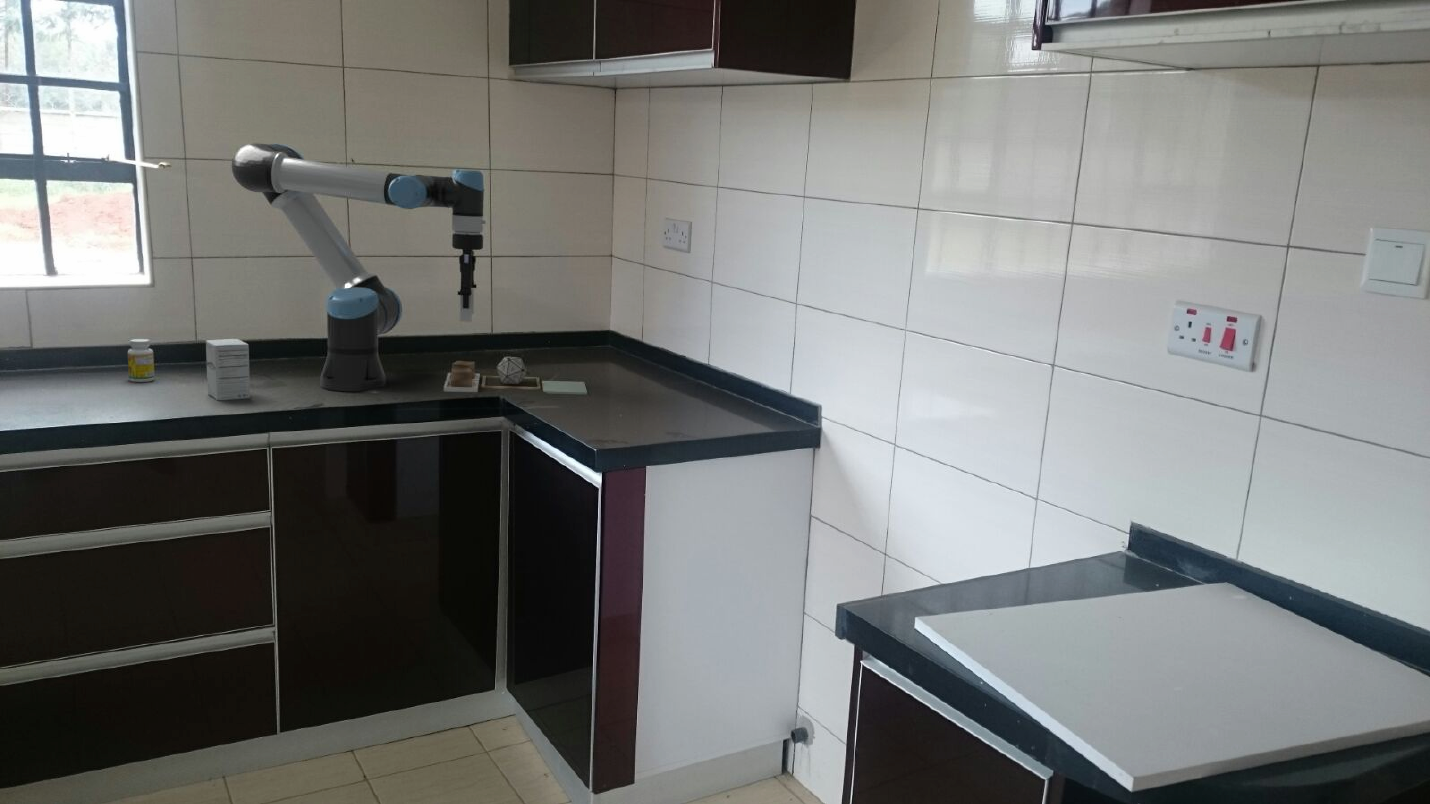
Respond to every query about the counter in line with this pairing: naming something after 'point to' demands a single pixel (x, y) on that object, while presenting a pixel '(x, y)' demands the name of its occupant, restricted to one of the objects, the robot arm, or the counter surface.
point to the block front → (461, 378)
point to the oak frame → (511, 387)
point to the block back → (465, 366)
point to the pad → (564, 387)
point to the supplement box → (228, 369)
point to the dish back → (477, 378)
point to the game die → (511, 370)
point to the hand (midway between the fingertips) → (467, 317)
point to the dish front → (461, 389)
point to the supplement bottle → (140, 361)
